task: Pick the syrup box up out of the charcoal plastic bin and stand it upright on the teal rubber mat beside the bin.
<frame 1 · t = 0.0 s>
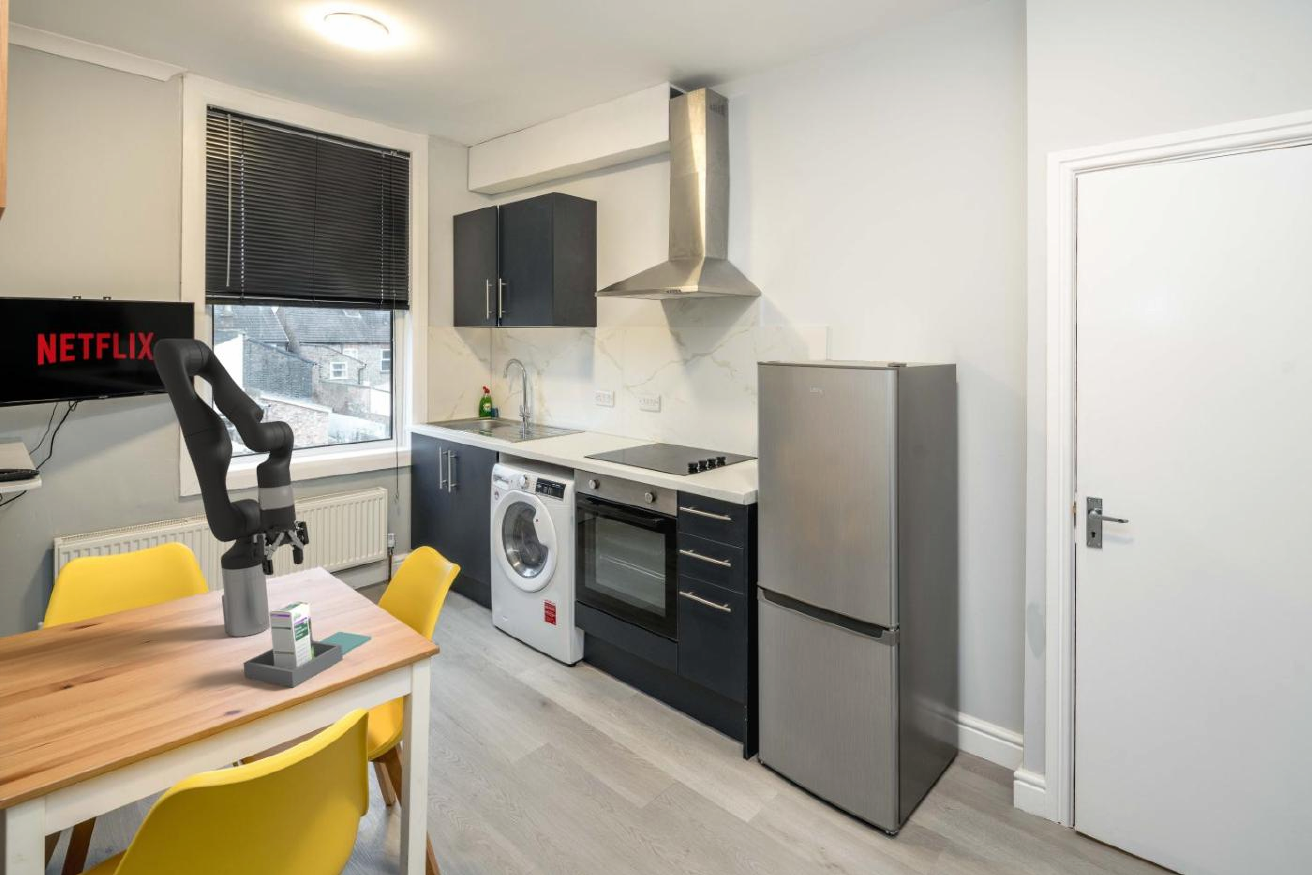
hand: (284, 569, 167), 17 cm above the table, tool pointing down, fingers open, 8 cm apart
syrup box: (295, 669, 152), resting in bin
mat: (339, 644, 164), on the table
bin: (295, 668, 152), on the table
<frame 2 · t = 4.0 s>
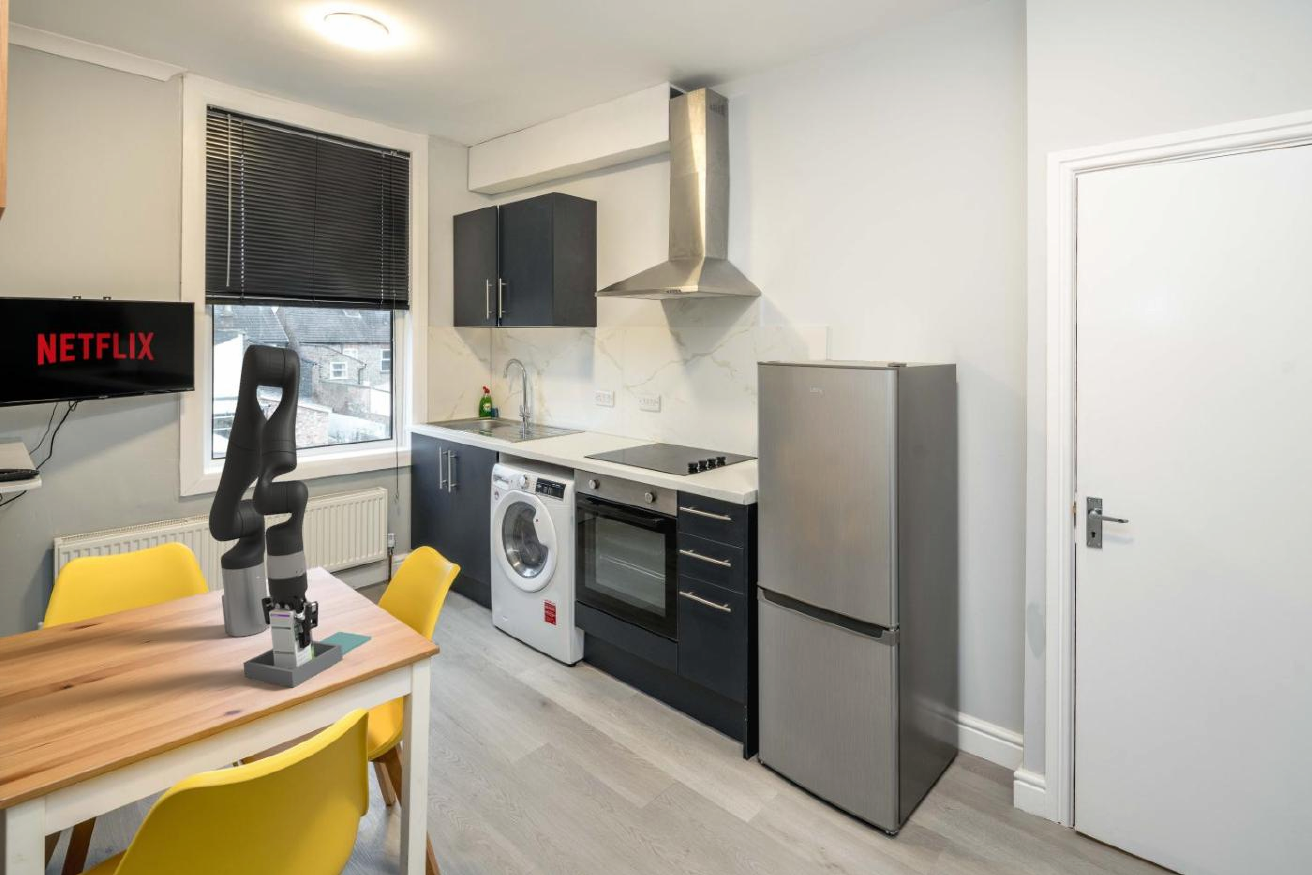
hand: (293, 644, 151), 6 cm above the table, tool pointing down, fingers closed on syrup box, 6 cm apart
syrup box: (295, 669, 152), resting in bin, touching gripper
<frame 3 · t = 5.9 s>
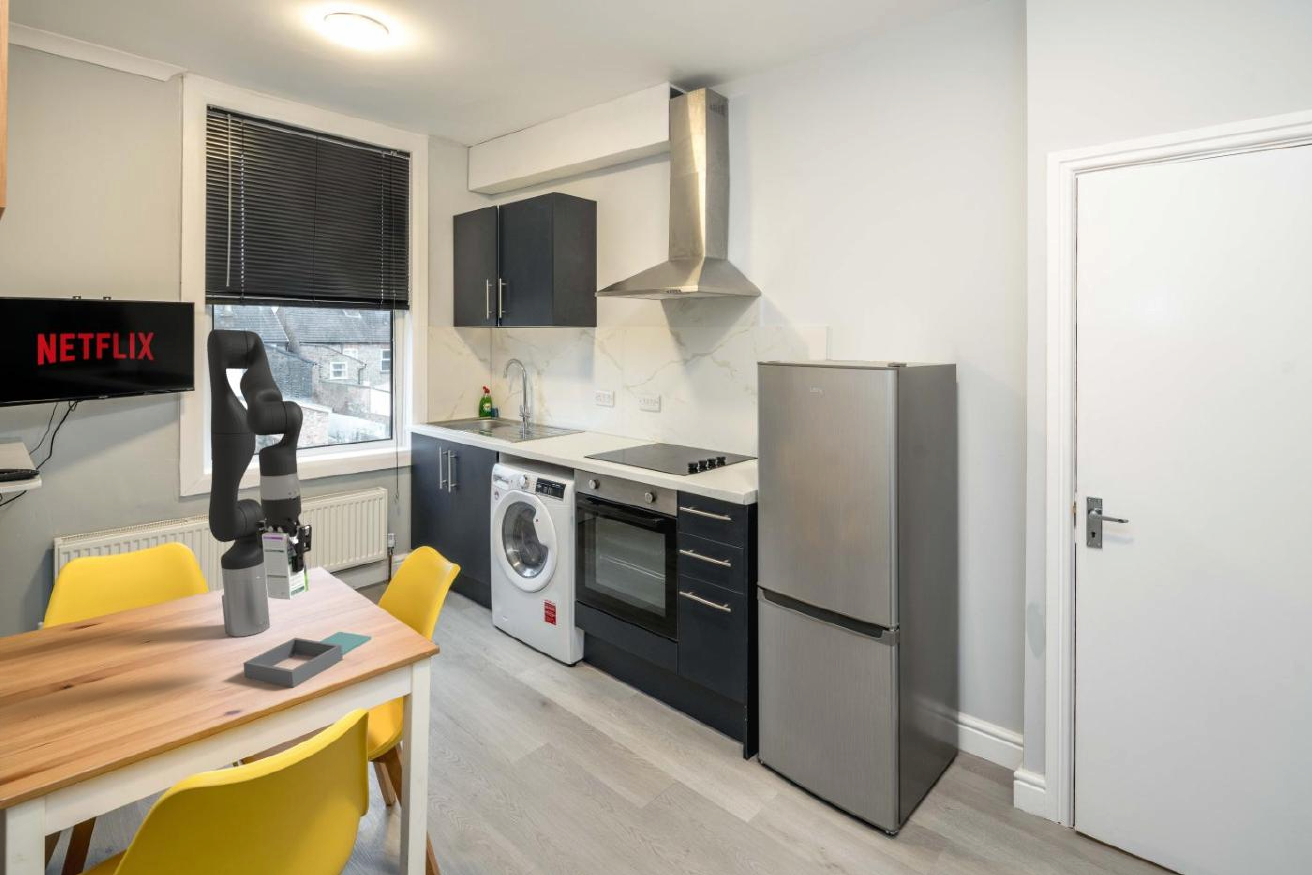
hand: (286, 569, 149), 23 cm above the table, tool pointing down, fingers closed on syrup box, 6 cm apart
syrup box: (288, 595, 150), point 17 cm above the table, touching gripper
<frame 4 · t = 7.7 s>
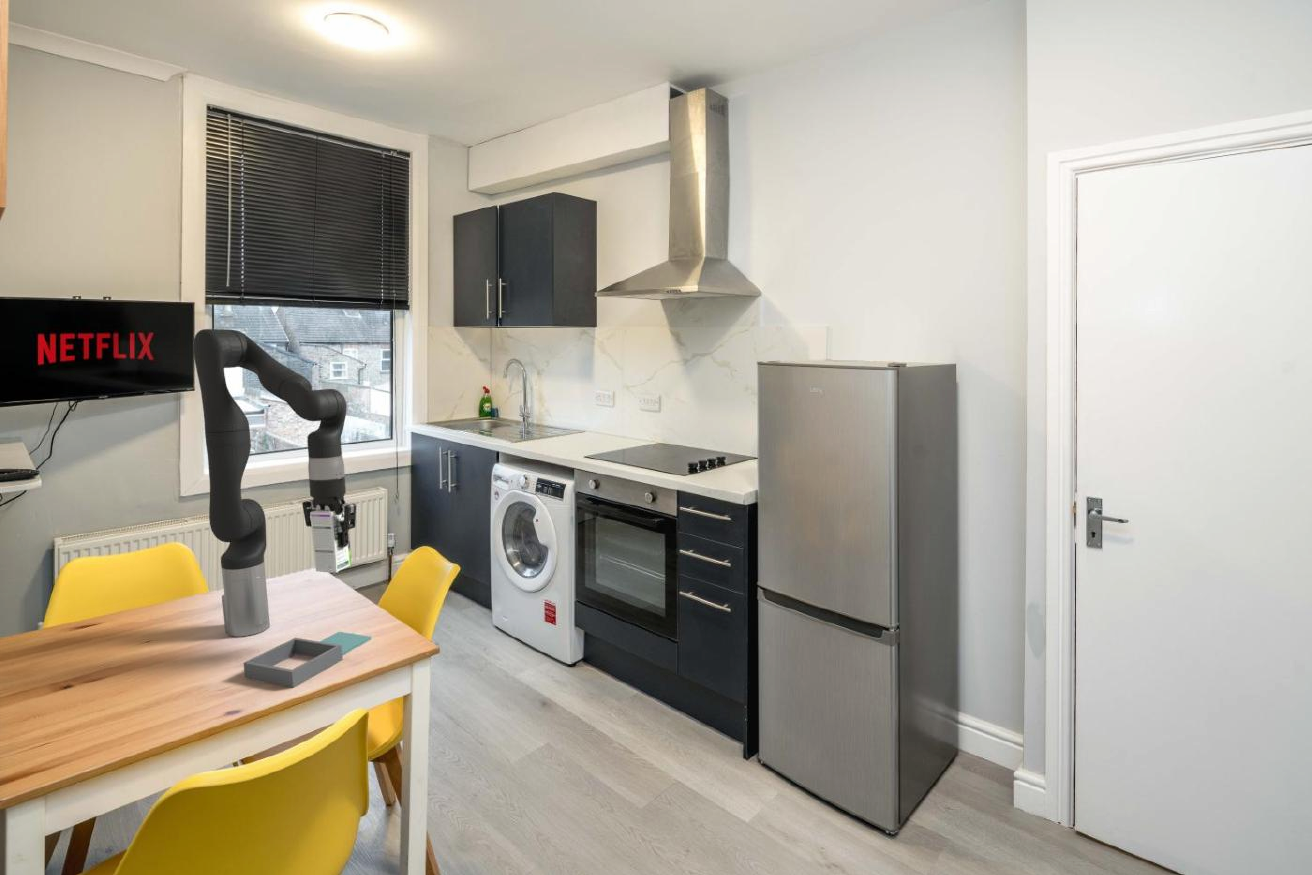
hand: (331, 545, 161), 25 cm above the table, tool pointing down, fingers closed on syrup box, 6 cm apart
syrup box: (333, 569, 162), point 19 cm above the table, touching gripper
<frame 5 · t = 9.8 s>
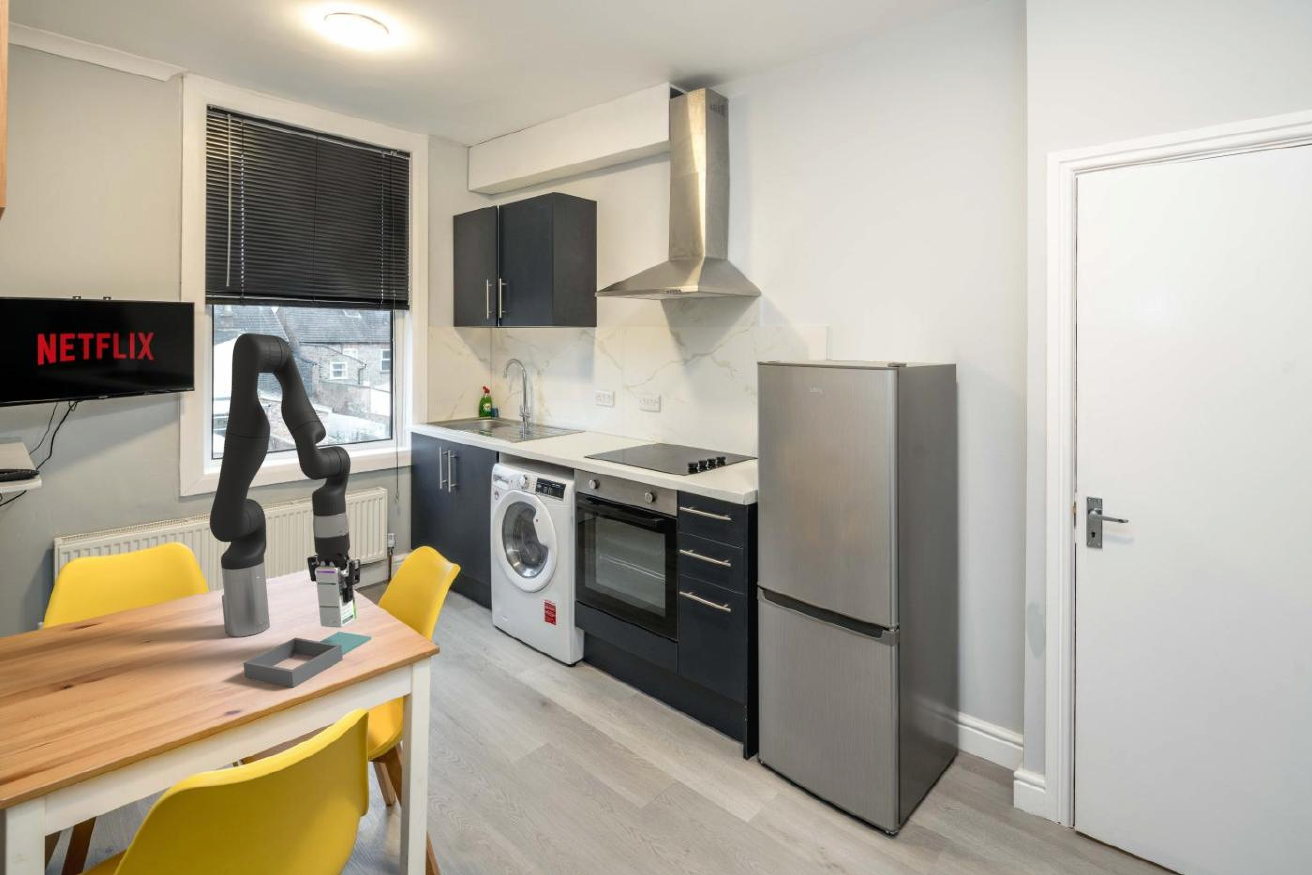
hand: (336, 600, 163), 11 cm above the table, tool pointing down, fingers closed on syrup box, 6 cm apart
syrup box: (338, 623, 163), point 5 cm above the table, touching gripper
when the fingers open (8 cm above the table, at t = 11.6 s): syrup box drops 1 cm, resting on mat.
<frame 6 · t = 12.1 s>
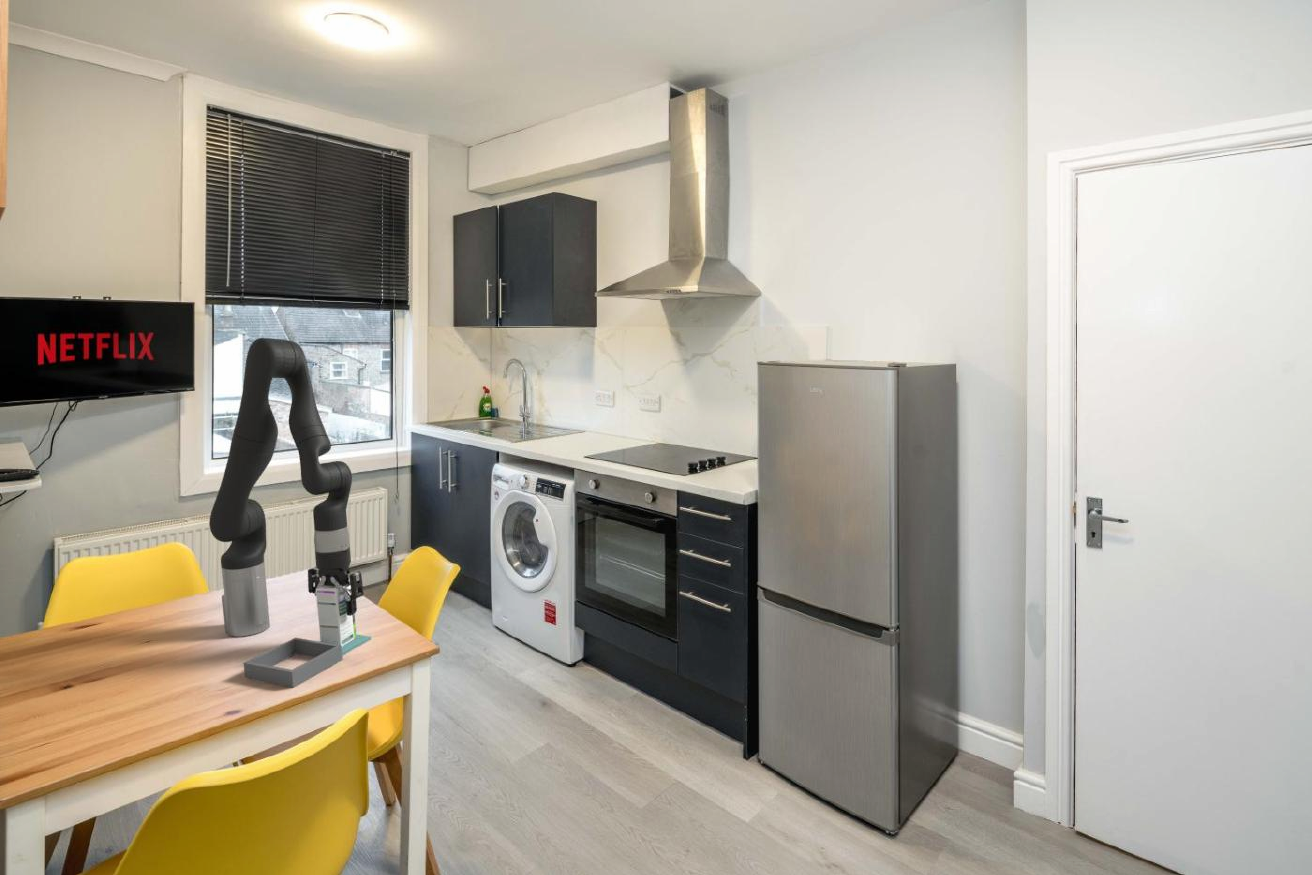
hand: (337, 612, 163), 8 cm above the table, tool pointing down, fingers open, 8 cm apart
syrup box: (338, 642, 164), resting on mat
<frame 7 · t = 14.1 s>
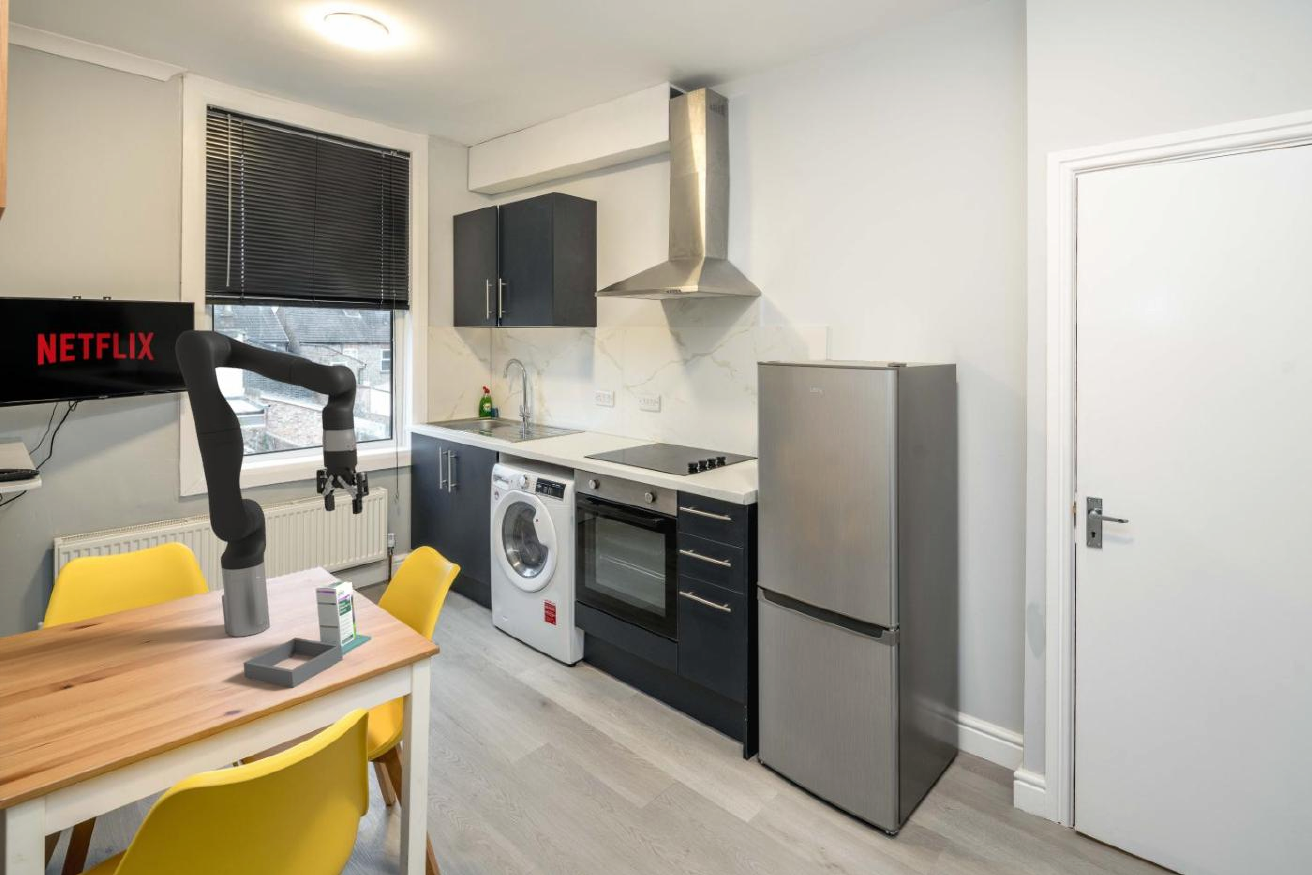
hand: (343, 512, 169), 30 cm above the table, tool pointing down, fingers open, 8 cm apart
nothing on the table moved.
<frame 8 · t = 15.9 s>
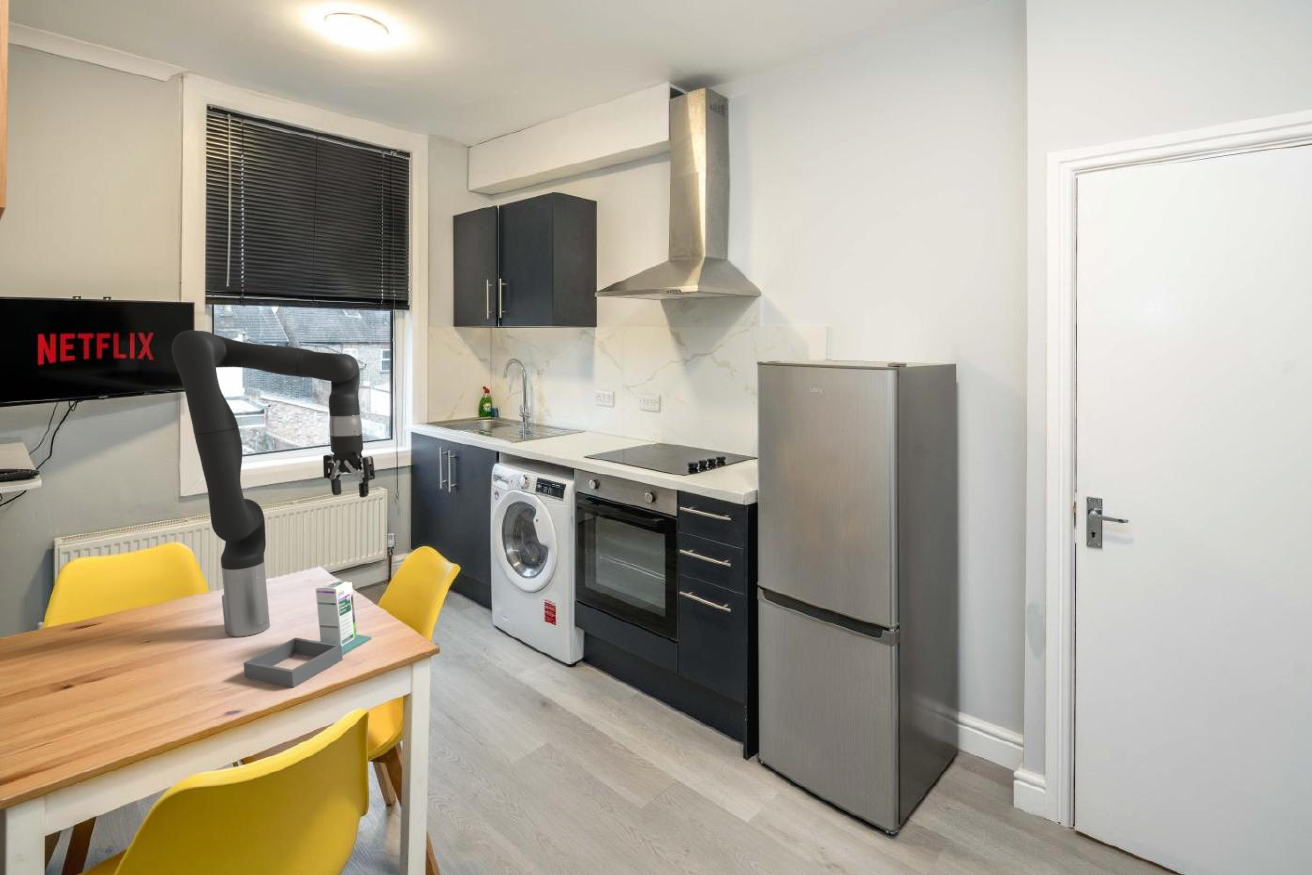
hand: (350, 495, 175), 33 cm above the table, tool pointing down, fingers open, 8 cm apart
nothing on the table moved.
at the end: syrup box inside the target area (0.3 cm from its centre), resting on mat; syrup box tilted 0°; the gripper is holding nothing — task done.
